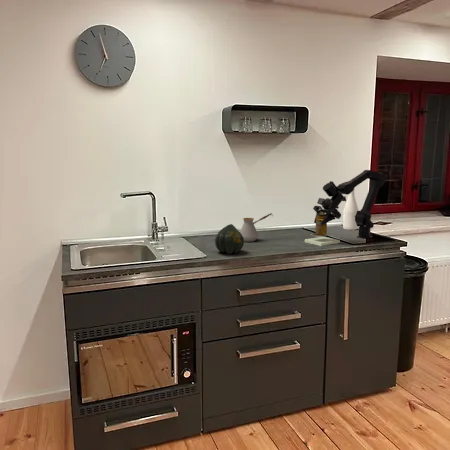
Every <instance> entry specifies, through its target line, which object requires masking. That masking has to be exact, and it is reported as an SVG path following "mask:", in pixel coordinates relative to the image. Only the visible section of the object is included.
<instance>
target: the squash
mask: <svg viewBox="0 0 450 450" xmlns="http://www.w3.org/2000/svg"><path fill="white" fill-rule="evenodd" d="M244 243H245V241H244V238H243V236H242V234H241V233H240V230H238V228H236V226H235V225H234V224H233V223H229V224H227V225H226V226H224V227H223V228H222V229H220V230H219V231H218V232H217V234H216V236H215V238H214V244H215V247H216V249H217V250H218V251H219V252H221V253H225V252H226V254H228V255H231V254H236V253H238V252H239V251H241V250H242V249H243V247H244Z"/></svg>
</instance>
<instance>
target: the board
mask: <svg viewBox="0 0 450 450" xmlns="http://www.w3.org/2000/svg"><path fill="white" fill-rule="evenodd" d="M304 243H306V244H311V245H315V246H319V247H322V246H329V245H334V244H335V245H336V244H339V243H341V242H340V239H336V238H331V237H327V236H321V237H317V236H316V237H313V238H306V239H304Z"/></svg>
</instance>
